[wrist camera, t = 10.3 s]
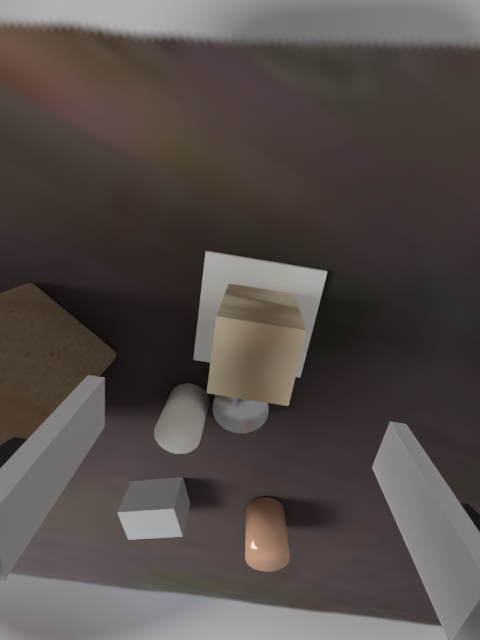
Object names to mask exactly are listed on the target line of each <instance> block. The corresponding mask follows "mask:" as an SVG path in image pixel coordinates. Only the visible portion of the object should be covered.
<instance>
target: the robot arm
mask: <svg viewBox="0 0 480 640" xmlns="http://www.w3.org/2000/svg"><path fill="white" fill-rule="evenodd" d="M104 427H105V378H104V377H98V376H91V375H88V376H87V377H86V378H85V379H84V380H83V381H82V382H81V383H80V384H79V385H78V386H77V387H76V388H75V389H74V390H73V391H72V393H71V394H70V395H69V396H68V397H67V398H66V399H65V400H64V401H63V402H62V403H61V404H60V405H59V406H58V407H57V409H56V410H55V411H54V412H53V413H52V414H51V415H50V416H49V417H48V418H47V419H46V420H45V421H44V422H43V423H42V425H41V426H40V427H39V428H38V429H37V430H36V431H35V432H34V433H33V434H32V435H31V436H30V437H29V438H28V439H25V438H18V437H13V438H12V439H10V440H8V441H7V442H5V443H3V444H1V445H0V580H5V579H6V577H7V576H8V574H9V573H10V571H11V570H12V568H13V567H14V565H15V564H16V562H17V561H18V559H19V557H20V556H21V554H22V553H23V551H24V550H25V548H26V547H27V545H28V544H29V542H30V541H31V539H32V538H33V536H34V534H35V533H36V531H37V530H38V528H39V527H40V525H41V524H42V522H43V521H44V519H45V518H46V516H47V515H48V513H49V511H50V510H51V508H52V507H53V505H54V504H55V502H56V501H57V499H58V498H59V496H60V495H61V493H62V492H63V490H64V488H65V487H66V485H67V484H68V482H69V481H70V479H71V478H72V476H73V475H74V473H75V472H76V470H77V469H78V467H79V465H80V464H81V462H82V461H83V459H84V458H85V456H86V455H87V453H88V452H89V450H90V449H91V447H92V446H93V444H94V442H95V441H96V439H97V438H98V436H99V435H100V433H101V432H102V430H103V429H104ZM372 469H373V471H374V473H375V475H376V478H377V480H378V482H379V484H380V487H381V489H382V491H383V494H384V496H385V498H386V500H387V503H388V505H389V507H390V509H391V512H392V514H393V516H394V518H395V521H396V523H397V525H398V527H399V530H400V532H401V534H402V537H403V539H404V541H405V543H406V546H407V548H408V550H409V552H410V555H411V557H412V559H413V561H414V564H415V566H416V568H417V570H418V573H419V575H420V577H421V580H422V582H423V584H424V586H425V589H426V591H427V593H428V595H429V598H430V600H431V602H432V604H433V607H434V609H435V611H436V613H437V616H438V618H439V620H440V623H441V625H442V627H443V629H444V632H445V634H446V636H447V638H448V640H480V515H479V514H478V513H477V512H476V511H475V510H474V509H473V508H472V507H471V506H470V505H469V504H464V503H459V501H458V500H457V498H456V497H455V495H454V494H453V492H452V491H451V489H450V488H449V486H448V485H447V483H446V482H445V480H444V479H443V478H442V476H441V475H440V473H439V472H438V470H437V469H436V467H435V466H434V464H433V463H432V461H431V460H430V458H429V457H428V455H427V454H426V452H425V451H424V450H423V448H422V447H421V445H420V444H419V442H418V441H417V439H416V438H415V436H414V435H413V433H412V432H411V430H410V429H409V427H408V426H407V424H402V423H396V422H390V423H389V425H388V428H387V430H386V433H385V435H384V438H383V440H382V443H381V445H380V448H379V450H378V453H377V456H376V458H375V461H374V463H373V466H372Z"/></svg>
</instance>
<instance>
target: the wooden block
mask: <svg viewBox="0 0 480 640" xmlns="http://www.w3.org/2000/svg"><path fill="white" fill-rule="evenodd" d="M116 355H117V353H116V352H115V351H114V350H113V349H112V348H111V347H109V346H108V345H107V344H106V343H105V342H103V341H102V340H101V339H100V338H99V337H97V336H96V335H95V334H94V333H93V332H91V331H90V330H89V329H88V328H87V327H85V326H84V325H83V324H82V323H80V322H79V321H78V320H77V319H76V318H74V317H73V316H72V315H71V314H70V313H68V312H67V311H66V310H65V309H64V308H62V307H61V306H60V305H59V304H58V303H56V302H55V301H54V300H53V299H52V298H50V297H49V296H48V295H47V294H45V293H44V292H43V291H42V290H41V289H39V288H38V287H37V286H36V285H35V284H32V283H27V284H24V285H21V286H18V287H15V288H13V289H10V290H7V291H4V292H2V293H0V445H1V444H3V443H5V442H7V441H8V440H10V439H12V438H13V437H18V438H25V439H28V438H29V437H30V436H31V435H32V434H33V433H34V432H35V431H36V430H37V429H38V428H39V427H40V426H41V425H42V423H43V422H44V421H45V420H46V419H47V418H48V417H49V416H50V415H51V414H52V413H53V412H54V411H55V410H56V409H57V407H58V406H59V405H60V404H61V403H62V402H63V401H64V400H65V399H66V398H67V397H68V396H69V395H70V394H71V393H72V391H73V390H74V389H75V388H76V387H77V386H78V385H79V384H80V383H81V382H82V381H83V380H84V379H85V378H86V377H87V376H88V375H91V376H98V377H99V376H100V375H101V374H102V373H103V372H104V371H105V369H106V368H107V367H108V366H109V365H110V364H111V363H112V362H113V361H114V360H115V358H116Z"/></svg>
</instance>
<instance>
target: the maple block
mask: <svg viewBox="0 0 480 640" xmlns="http://www.w3.org/2000/svg"><path fill="white" fill-rule="evenodd" d="M306 331H307V330H306V327H305V324H304V322H303V319H302V316H301V313H300V310H299V307H298V304H297V302H296V299H295V296H294V294H292V293H286V292H280V291H273V290H267V289H260V288H254V287H248V286H241V285H235V284H228V286H227V289H226V292H225V294H224V297H223V300H222V302H221V305H220V308H219V310H218V313H217V316H216V322H215V330H214V338H213V346H212V354H211V362H210V370H209V378H208V386H207V393H209V394H215V395H221V396H228V397H234V398H240V399H247V400H253V401H259V402H266V403H272V404H278V405H285V406H289V402H290V398H291V394H292V390H293V385H294V381H295V377H296V373H297V369H298V365H299V360H300V356H301V352H302V348H303V344H304V339H305V335H306Z"/></svg>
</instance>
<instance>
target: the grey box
mask: <svg viewBox="0 0 480 640" xmlns="http://www.w3.org/2000/svg"><path fill="white" fill-rule="evenodd" d="M189 508H190V500H189V497H188V494H187V490H186V487H185V483H184V480H183V477H179V478H166V479H153V480H141V481H131V483H130V486H129V488H128V490H127V492H126V494H125V496H124V499H123V501H122V503H121V505H120V507H119V510H118V512H117V513H118V516H119V518H120V521H121V523H122V526H123V528H124V530H125V533H126V535H127V538H128V540H131V539H149V538H167V537H183V533H184V529H185V525H186V521H187V516H188V512H189Z"/></svg>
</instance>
